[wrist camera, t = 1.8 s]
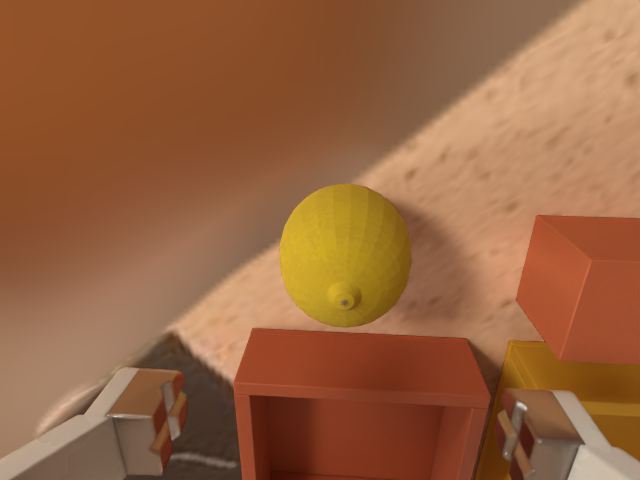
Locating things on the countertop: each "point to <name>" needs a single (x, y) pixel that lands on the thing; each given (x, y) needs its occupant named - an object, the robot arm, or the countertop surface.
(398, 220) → the lemon
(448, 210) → the countertop surface
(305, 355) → the terracotta bin
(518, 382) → the yellow bin
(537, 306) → the block
